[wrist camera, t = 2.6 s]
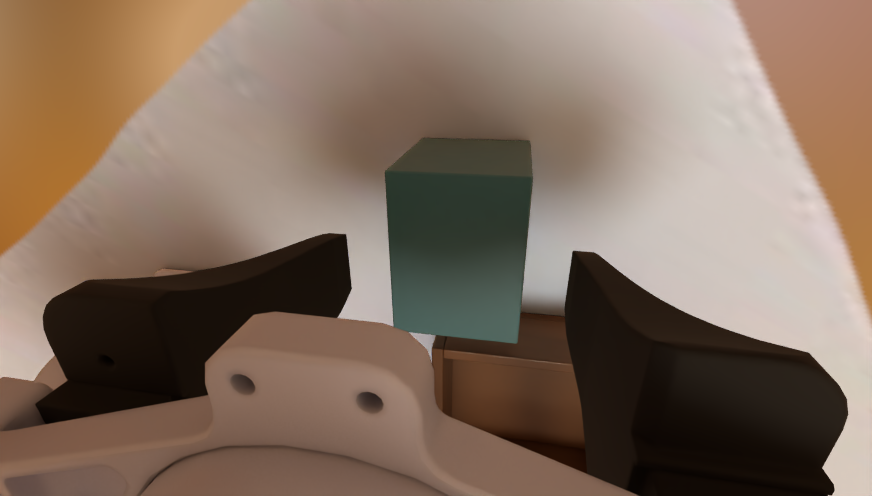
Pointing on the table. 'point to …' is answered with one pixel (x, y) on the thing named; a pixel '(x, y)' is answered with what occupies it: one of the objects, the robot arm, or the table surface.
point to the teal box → (459, 237)
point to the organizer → (515, 388)
